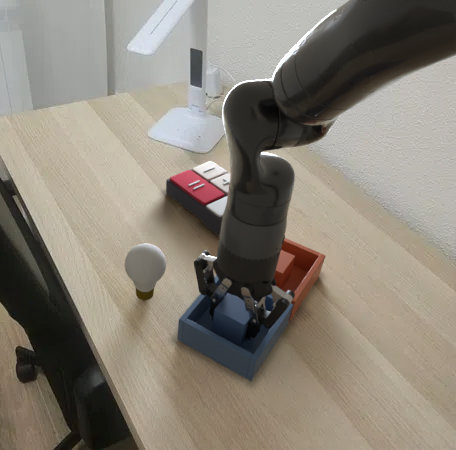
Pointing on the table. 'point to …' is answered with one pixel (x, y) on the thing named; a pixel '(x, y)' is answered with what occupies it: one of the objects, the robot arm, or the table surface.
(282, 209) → the robot arm
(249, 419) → the table surface
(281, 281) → the terracotta block
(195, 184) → the calculator
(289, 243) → the terracotta bin
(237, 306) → the blue block
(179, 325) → the blue bin
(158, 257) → the light bulb
